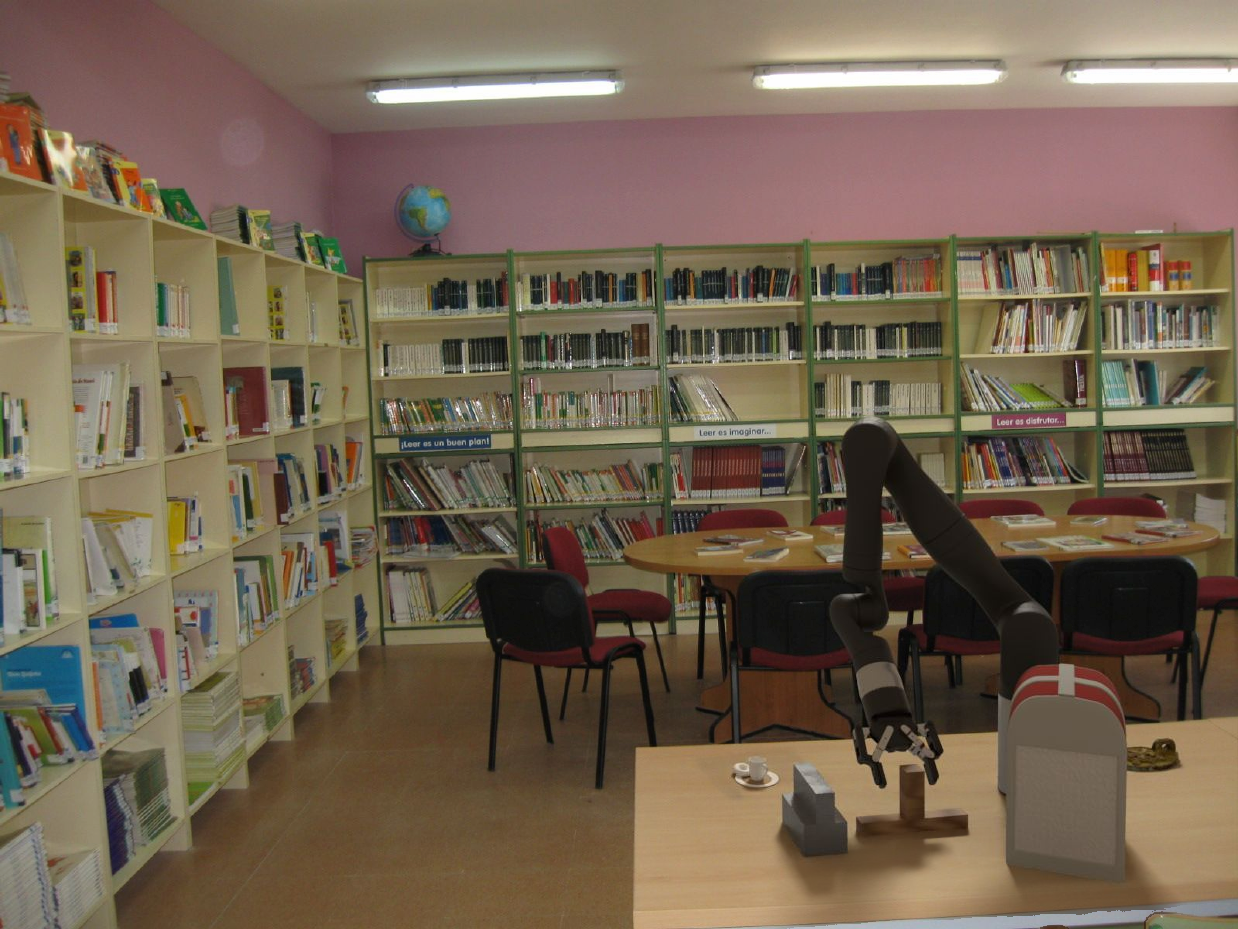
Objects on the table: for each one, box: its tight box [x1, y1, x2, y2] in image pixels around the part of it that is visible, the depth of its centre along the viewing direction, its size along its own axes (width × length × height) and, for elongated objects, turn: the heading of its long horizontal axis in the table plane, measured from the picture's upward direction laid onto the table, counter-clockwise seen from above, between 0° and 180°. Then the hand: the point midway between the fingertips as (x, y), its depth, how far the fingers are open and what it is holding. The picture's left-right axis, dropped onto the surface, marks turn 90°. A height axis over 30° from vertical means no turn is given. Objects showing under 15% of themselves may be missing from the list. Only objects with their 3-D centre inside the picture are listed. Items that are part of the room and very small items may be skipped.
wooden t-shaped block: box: [855, 763, 969, 838], centre depth 163 cm, size 18×3×10 cm, turn 97°
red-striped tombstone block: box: [1005, 663, 1128, 884], centre depth 155 cm, size 17×18×27 cm
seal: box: [1127, 737, 1180, 772], centre depth 188 cm, size 9×5×15 cm
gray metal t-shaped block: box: [781, 761, 849, 858], centre depth 161 cm, size 12×7×10 cm, turn 7°
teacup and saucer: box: [732, 755, 779, 788], centre depth 185 cm, size 9×8×4 cm
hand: (908, 785), depth 163 cm, fingers open, 8 cm apart
